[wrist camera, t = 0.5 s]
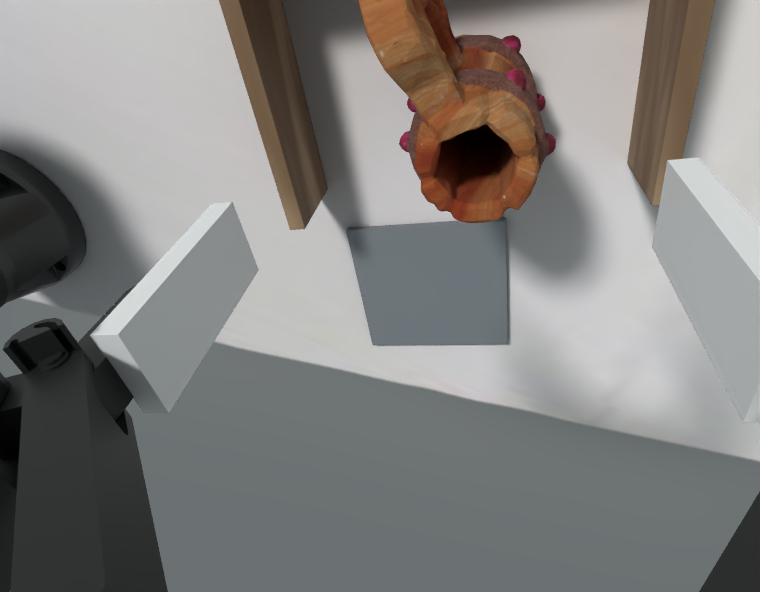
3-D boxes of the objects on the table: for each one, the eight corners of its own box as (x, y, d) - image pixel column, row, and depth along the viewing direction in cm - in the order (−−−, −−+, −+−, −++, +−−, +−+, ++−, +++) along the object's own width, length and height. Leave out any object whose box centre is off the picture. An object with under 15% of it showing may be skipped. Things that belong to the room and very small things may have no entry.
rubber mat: (373, 341, 53) (372, 345, 52) (347, 228, 45) (346, 231, 44) (507, 340, 50) (507, 344, 49) (505, 217, 42) (505, 221, 41)
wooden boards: (314, 189, 43) (290, 229, 37) (243, -84, 32) (193, -83, 26) (644, 161, 37) (672, 204, 31) (701, -189, 26) (760, -217, 20)
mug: (556, 118, 36) (591, 216, 24) (457, 169, 40) (446, 276, 28) (462, -94, 30) (449, -99, 18) (355, -9, 33) (285, 33, 22)
